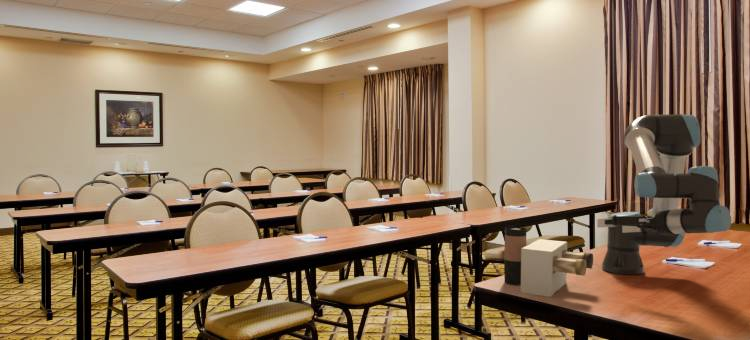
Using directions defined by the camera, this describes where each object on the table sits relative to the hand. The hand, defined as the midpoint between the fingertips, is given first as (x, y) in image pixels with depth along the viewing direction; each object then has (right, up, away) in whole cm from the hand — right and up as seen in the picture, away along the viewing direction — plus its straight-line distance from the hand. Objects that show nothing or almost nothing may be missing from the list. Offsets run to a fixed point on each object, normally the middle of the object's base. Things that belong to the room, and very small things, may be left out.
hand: (610, 226), depth 182 cm
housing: (-21, -22, +5) cm, 31 cm away
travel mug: (-30, -22, +11) cm, 39 cm away
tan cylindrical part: (-11, -15, +6) cm, 19 cm away
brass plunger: (-18, -15, -4) cm, 24 cm away
